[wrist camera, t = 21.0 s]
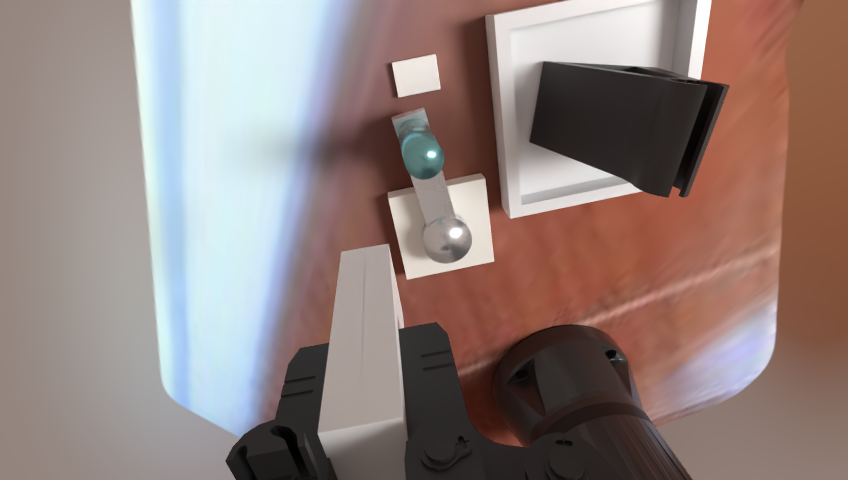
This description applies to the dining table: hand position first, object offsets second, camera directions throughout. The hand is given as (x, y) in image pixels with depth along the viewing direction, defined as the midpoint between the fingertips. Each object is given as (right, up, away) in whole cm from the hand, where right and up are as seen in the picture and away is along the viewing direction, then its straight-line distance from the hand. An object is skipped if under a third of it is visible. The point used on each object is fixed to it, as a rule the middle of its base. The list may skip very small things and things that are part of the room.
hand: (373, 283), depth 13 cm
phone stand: (+15, +12, +19) cm, 27 cm away
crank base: (+2, +7, +21) cm, 22 cm away
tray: (+15, +12, +19) cm, 27 cm away
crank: (+2, +5, +19) cm, 20 cm away
